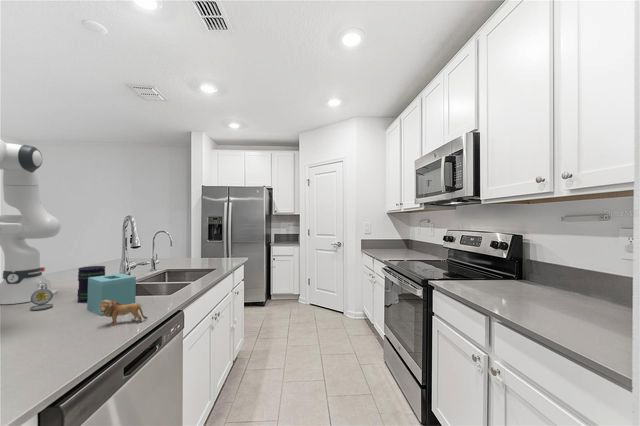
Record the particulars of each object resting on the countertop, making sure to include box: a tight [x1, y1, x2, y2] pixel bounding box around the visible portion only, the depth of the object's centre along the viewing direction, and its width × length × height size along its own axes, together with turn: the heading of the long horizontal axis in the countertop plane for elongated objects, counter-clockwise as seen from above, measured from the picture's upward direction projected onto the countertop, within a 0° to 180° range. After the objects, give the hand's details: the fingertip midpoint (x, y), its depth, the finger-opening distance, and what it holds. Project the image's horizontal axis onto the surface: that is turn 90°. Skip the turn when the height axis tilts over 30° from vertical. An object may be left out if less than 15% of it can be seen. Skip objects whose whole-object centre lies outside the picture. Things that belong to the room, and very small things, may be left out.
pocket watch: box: [30, 283, 54, 311], centre depth 118 cm, size 8×8×10 cm
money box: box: [86, 272, 137, 316], centre depth 118 cm, size 14×12×13 cm
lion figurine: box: [99, 300, 148, 327], centre depth 101 cm, size 15×5×9 cm, turn 119°
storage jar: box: [76, 265, 106, 304], centre depth 130 cm, size 10×10×15 cm
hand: (33, 228), depth 102 cm, fingers open, 8 cm apart
